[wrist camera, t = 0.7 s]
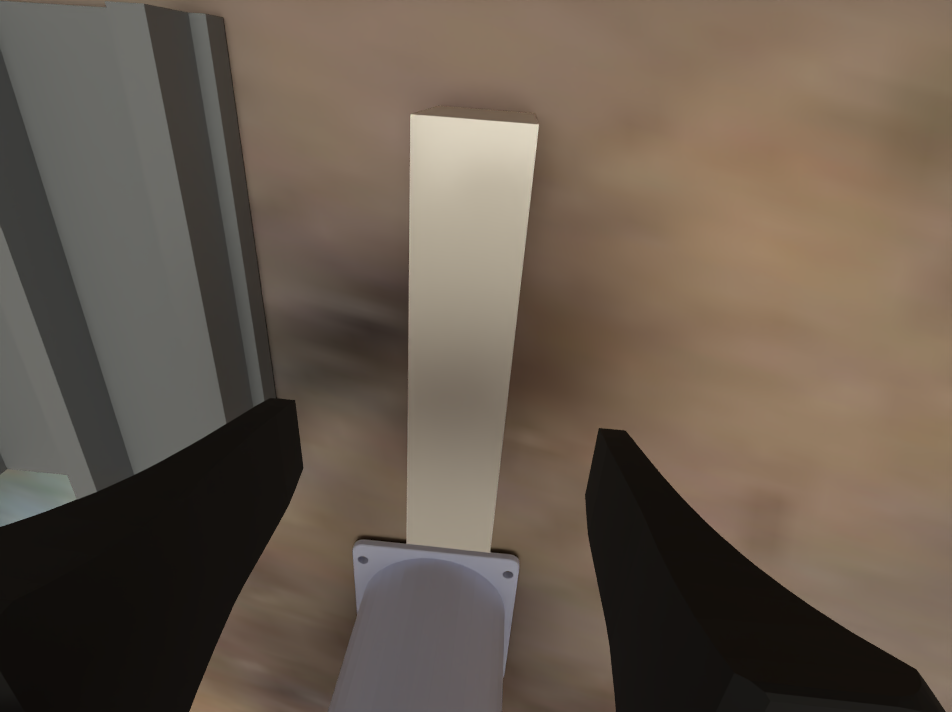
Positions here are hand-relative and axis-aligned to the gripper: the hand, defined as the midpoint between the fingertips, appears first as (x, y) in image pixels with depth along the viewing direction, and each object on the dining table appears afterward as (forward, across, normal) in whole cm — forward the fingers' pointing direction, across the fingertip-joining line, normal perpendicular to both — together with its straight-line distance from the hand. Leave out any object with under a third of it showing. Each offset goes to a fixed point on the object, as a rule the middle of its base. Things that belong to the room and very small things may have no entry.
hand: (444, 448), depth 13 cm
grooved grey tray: (+8, +15, 0) cm, 17 cm away
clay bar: (+8, 0, 0) cm, 8 cm away
